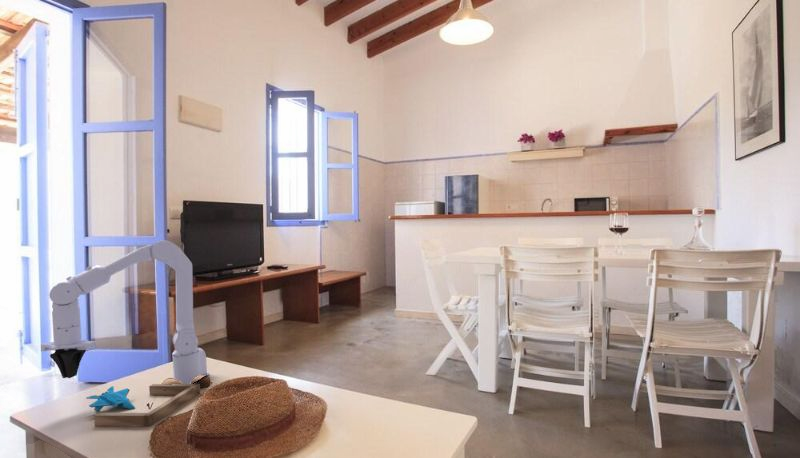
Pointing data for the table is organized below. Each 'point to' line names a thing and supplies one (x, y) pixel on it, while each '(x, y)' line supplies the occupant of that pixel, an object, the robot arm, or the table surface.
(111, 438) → the table surface
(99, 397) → the toy airplane
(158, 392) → the brown wooden u shape
